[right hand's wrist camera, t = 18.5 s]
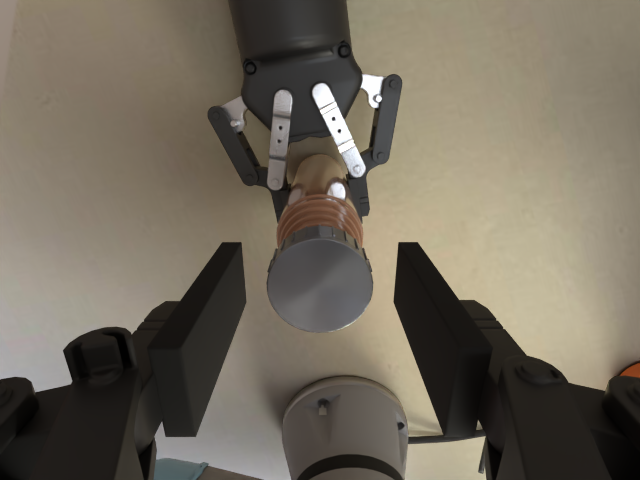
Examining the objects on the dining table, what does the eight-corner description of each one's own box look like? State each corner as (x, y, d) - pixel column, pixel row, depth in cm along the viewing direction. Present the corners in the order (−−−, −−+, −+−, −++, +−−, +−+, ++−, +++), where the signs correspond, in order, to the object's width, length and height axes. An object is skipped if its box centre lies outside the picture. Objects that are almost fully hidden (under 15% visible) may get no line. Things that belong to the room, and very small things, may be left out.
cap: (329, 203, 14) (330, 215, 12) (388, 278, 15) (395, 296, 13) (250, 262, 14) (242, 279, 13) (311, 329, 16) (311, 351, 14)
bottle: (349, 193, 34) (391, 313, 14) (305, 207, 34) (285, 343, 15) (335, 147, 32) (359, 210, 13) (289, 163, 33) (243, 248, 13)
